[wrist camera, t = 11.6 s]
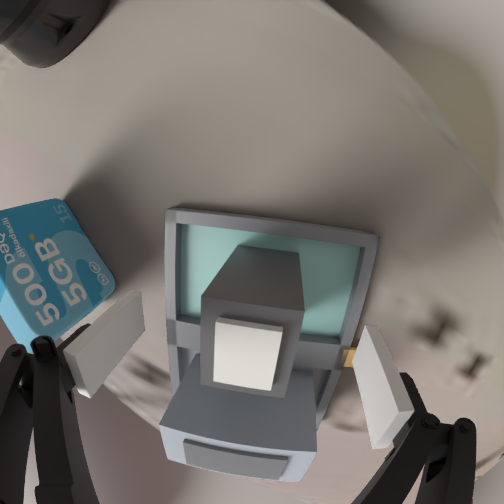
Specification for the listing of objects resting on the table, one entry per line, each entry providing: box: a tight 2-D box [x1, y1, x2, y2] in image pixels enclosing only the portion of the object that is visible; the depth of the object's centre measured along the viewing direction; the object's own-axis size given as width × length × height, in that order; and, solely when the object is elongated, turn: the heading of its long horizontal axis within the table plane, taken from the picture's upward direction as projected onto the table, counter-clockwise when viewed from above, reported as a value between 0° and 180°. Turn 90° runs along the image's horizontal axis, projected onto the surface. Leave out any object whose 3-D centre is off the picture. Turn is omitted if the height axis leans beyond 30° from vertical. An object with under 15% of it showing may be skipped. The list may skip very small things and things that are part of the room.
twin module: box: [159, 354, 317, 482], centre depth 22 cm, size 6×12×10 cm, turn 84°
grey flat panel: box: [165, 207, 379, 431], centre depth 24 cm, size 23×18×2 cm
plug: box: [200, 245, 305, 398], centre depth 18 cm, size 6×5×10 cm
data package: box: [0, 199, 115, 354], centre depth 20 cm, size 12×4×12 cm, turn 36°
